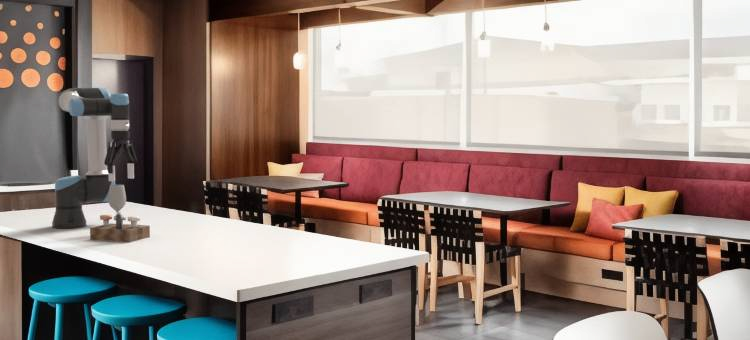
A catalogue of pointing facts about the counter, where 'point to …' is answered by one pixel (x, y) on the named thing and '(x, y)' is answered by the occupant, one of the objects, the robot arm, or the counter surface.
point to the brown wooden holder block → (119, 233)
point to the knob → (134, 221)
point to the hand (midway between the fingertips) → (121, 179)
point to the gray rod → (119, 220)
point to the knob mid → (122, 219)
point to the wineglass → (117, 197)
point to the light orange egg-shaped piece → (105, 219)
